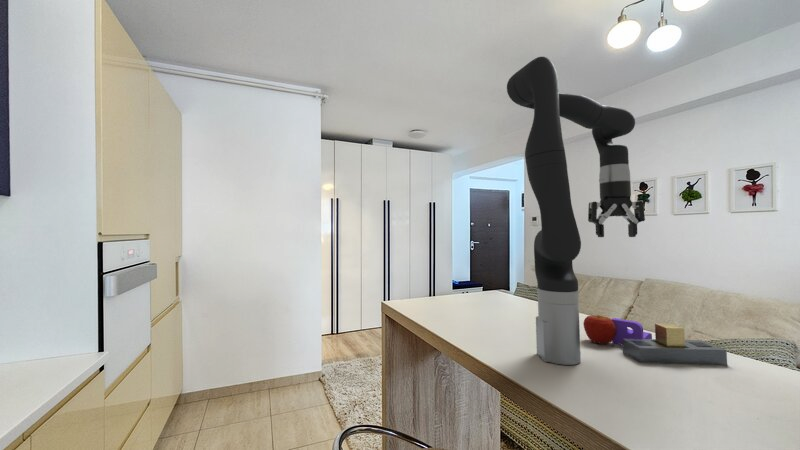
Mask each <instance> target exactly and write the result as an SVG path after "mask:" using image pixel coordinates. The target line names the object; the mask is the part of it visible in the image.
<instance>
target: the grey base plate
mask: <svg viewBox="0 0 800 450" xmlns="http://www.w3.org/2000/svg"><path fill="white" fill-rule="evenodd" d="M622 340H623V345H622V353H623V354H625V355H627V356H628V357H630V358H632V359H633V360H635V361H637V362H638V363H641V364H668V365H670V364H674V365H704V366H705V365H707V366H708V365H711V366H712V365H713V366H715V365H717V366H728V355H727V354H728V352H727V350H728V349H725V348H723V347H720V346H718V345H715V344H712V343H710V342H708V341H704V340H702V339H685V348H667V347H664V346H661V345H659V344H657V343H656V338H652V339H622Z"/></svg>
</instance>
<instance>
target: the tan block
mask: <svg viewBox="0 0 800 450" xmlns="http://www.w3.org/2000/svg"><path fill="white" fill-rule="evenodd" d="M654 331H655V332H654V333H655V335H654V336H655V337H654V339H656V343H657V344H659V345H661V346H664V347H667V348H685V340H686V339H685V338H686V337H685V328H684V327H681V326H679V325H676V324H673V323H654Z"/></svg>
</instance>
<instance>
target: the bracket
mask: <svg viewBox="0 0 800 450" xmlns="http://www.w3.org/2000/svg"><path fill="white" fill-rule="evenodd" d="M611 320H612V321H613V322H614V324H615V326H616V335H615V337H614V339H613V341H612V344H616V345H620V346H623V340H622V339H653V334H652V333H651V332H646V331H644V328H643V325H642V324H641V322H638V321H635V320H629V319H623V318H616V317H613V318H611ZM629 328H630V329H629Z"/></svg>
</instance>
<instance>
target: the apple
mask: <svg viewBox="0 0 800 450" xmlns="http://www.w3.org/2000/svg"><path fill="white" fill-rule="evenodd" d="M583 329H584V331H585V334H586V336H587V338H588V339H589V340H590V341H591V342H593V343H595V344H601V345H606V344H609V343H611V342H612V341H613V339H614V337H615V335H616V326H615V324H614V322H613V321H612V318H609V317H608V316H607V317H606V316H602V315H587V316H586V317H585V318H584V320H583Z"/></svg>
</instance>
